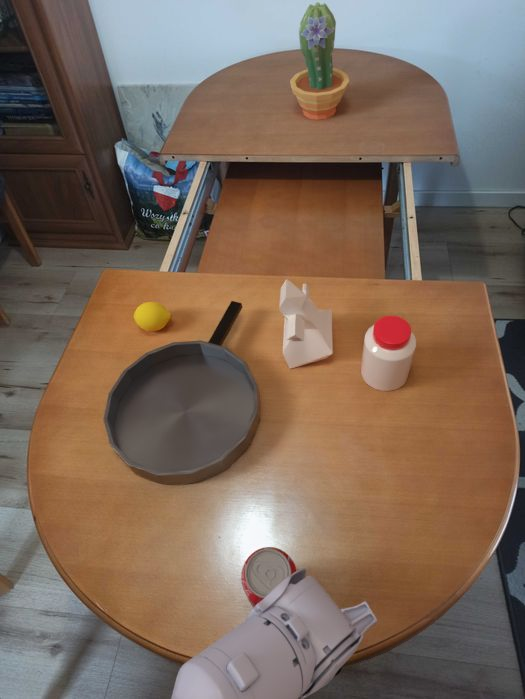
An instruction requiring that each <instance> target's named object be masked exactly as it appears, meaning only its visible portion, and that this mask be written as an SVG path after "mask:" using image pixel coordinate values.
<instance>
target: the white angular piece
mask: <svg viewBox="0 0 525 699" xmlns="http://www.w3.org/2000/svg"><path fill="white" fill-rule="evenodd" d="M278 310H279V313H280V314H281V315H282V316H283V317H284V322H283V338H282V339H283V340H282V355H283V357H284V360H285V362H286V365H287V366H288V369H294V368H298V367H301V366H305V365H309V364H312V363H316V362H319V361H323V360H326V359H327V358H329V357H330V356H332V355H333V353H334V351H333V349H334V348H333V309H318V307H317V306H316V304H315V303H314V302H313V301H312V299H311V298H310V288H309V285H308V283H302V289H301V288H299V287H298V286H297V285H296V284H294V283H293V282H292V281H291V280H289V279H288V278H286V279H285V281H284V282H283V284H282V286H281V287H280V292H279V307H278Z"/></svg>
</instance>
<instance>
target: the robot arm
mask: <svg viewBox="0 0 525 699" xmlns="http://www.w3.org/2000/svg"><path fill="white" fill-rule="evenodd" d="M306 575H307V568H305V567H303V568H300V569H298V570H297V571H296V572H294V573H293V574H291V575H290V576H288V577H287V578H286V579H284V580H283V581H281V582H280V583H279V584H278V585H277V586H276V587H274V588H273V589H272V590H271V591H270V592H269V593H268V594H267V595H266V597H265V598H264V599H263V600H262V601H260V602H259V603H258V604H257V605H256V606H255V607H252V608H251V609H250V610H249V613H248V614H247V615H246V617H245V619H244V621H242V622H240V623H239V624H238V625H236V626H235V627H234V628H232V629H231V630H229V631H228V632H227V633H225V634H224V635H222V636H221V637H219V638H218V639H217V640H215V641H214V642H213V643H211V644H210V645H208V646H206V648H203V650H201V651H199V652H198V653H197V654H195V655H194V656H193V657H191V658H190V659H189V660H187V661H186V662H184V663H183V664H182V665H181V667H180V668H179V670H178V672H177V675H176V678H175V682H174V686H173V689H172V690H173V691H172V694H171V697H170V699H305V698H307V697H309V696H310V695H312V694H314V693H316V692H318V691H319V690H320V689H321V688H324V687H325V686H327V685H328V684H329V683H330V682H331V681H332V680H333V679H334V678H335V677H336V676H338V675H340V673H341V672H342V670H343V666H344V665H345V664H346V663H347V662H348V661H349V660H350V658H351V657H352V656H353V655H354V654H355V653H356V651H357V649H358V647H359V646H360V644H361V642H362V640H363V639H364V637H365V636H364V634H365V633H366V632H367V630H368V629H370V628H371V627H374V626H375V625H376V624H377V622H378V619H377V617H376V615H375V613H374V612H373V610H372V608H371V607H370V605H369V603H368V602H367V601H366V600H364V601H363V602H361V603H358V604H356V605H353V606H350V607H344V608H340V607H339V606H338V605H337V603H336V602H335V601H334V600H333V598H332V597H331V596H330V595H329V594H328V592H327V591H326V590H325V589H324V588H323V586H322V585H321V584H320V582H318V580H317V579H316V577H315V576H314V575H311V574H310V575H308V576H306Z"/></svg>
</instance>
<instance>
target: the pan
mask: <svg viewBox="0 0 525 699" xmlns="http://www.w3.org/2000/svg"><path fill="white" fill-rule="evenodd" d="M242 309H243V304H242V302H238V301H235V300H231V301H230V302H229V305H228V307H227V308H226V310H225V312H224V313H223V315H222V317H221V319H220V321H219V322H218V324H217V326H216V328H215V330H214V331H213V333H212V335H211V337H210V338H209V340H208V341H204V340H185V341H172V342H170V343H168V344H165V345H163V346H160V347H158V348H154V349H152V350H149V351H147V352H145V353H143V355H141V356H139V358H137V359H136V360H135V361H133V362H132V363H131V364H130V365H128V366H127V367H126V368H124V370H122V372H121V374H120V376H119V377H118V379H117V380H116V381H115V383H114V384H113V386H112V387H111V389H110V391H109V392H108V395H107V400H106V405H105V409H104V415H103V419H102V420H103V424H104V427H105V432H106V435H107V438H108V442H109V446H110V447H111V449H112V450H113V451H114V452H115V454H116V455H117V456H118V458H120V460H121V461H122V462H123V463H124V464H125V465H126V466H127V467H128V468H129V469H130V470H131V471H132V472H133V474H135V475H137V476H140V477H141V478H144V479H146V480H148V481H151V482H155V483H157V484H162V485H169V486H171V485H172V486H174V485H175V486H182V485H189V484H194V483H199V482H203V481H205V480H208V479H210V478H213V477H214V476H217V475H218V474H220V473H222V472H223V471H225V470H226V469H228V468H229V467H231V466H232V465H233V464H235V462H237V460H239V459H240V457H241V456H242V455H243V454H244V453H245V452H246V450H247V449H248V447H249V446H250V444H251V443H252V441H253V439H254V437H255V435H256V432H257V429H258V426H259V423H260V419H261V418H260V415H261V414H260V413H261V412H260V411H261V408H260V391H259V385H258V383H257V380H256V379H255V377H254V375H253V373H252V371H251V369H250V367H249V365H248V363H247V362H246V361H245V360H243V359H242V358H241V357H240V356H238V355H237V354H236V353H234V352H233V351H232V350H231V349H229V348H228V347H226V346H223V344H224V342H225V340H226V339H227V337H228V335H229V333H230V331H231V330H232V328H233V326H234V324H235V322H236V321H237V319H238V316H239V315H240V314H241V311H242Z"/></svg>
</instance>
